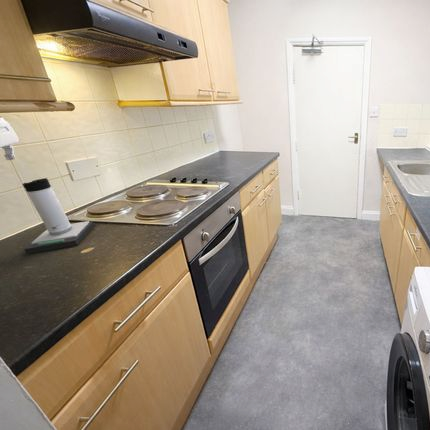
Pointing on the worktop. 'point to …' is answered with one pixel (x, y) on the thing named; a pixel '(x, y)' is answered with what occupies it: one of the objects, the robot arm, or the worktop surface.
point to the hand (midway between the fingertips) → (2, 162)
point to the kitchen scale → (60, 238)
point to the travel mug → (48, 206)
